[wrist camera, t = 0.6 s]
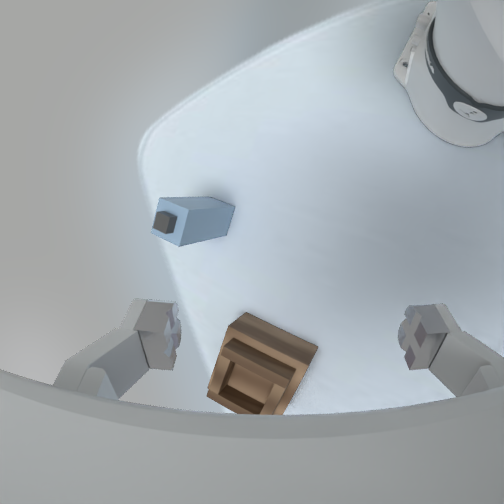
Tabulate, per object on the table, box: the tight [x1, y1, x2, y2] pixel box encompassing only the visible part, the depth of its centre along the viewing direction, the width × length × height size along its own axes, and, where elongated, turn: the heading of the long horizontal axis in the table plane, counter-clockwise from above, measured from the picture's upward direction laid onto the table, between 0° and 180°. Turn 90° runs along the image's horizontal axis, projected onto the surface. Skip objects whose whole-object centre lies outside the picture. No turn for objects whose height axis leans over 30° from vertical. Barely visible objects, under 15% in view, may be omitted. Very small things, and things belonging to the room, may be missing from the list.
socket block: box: [207, 312, 318, 415], centre depth 44 cm, size 12×12×9 cm
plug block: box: [151, 197, 235, 247], centre depth 42 cm, size 4×4×14 cm
